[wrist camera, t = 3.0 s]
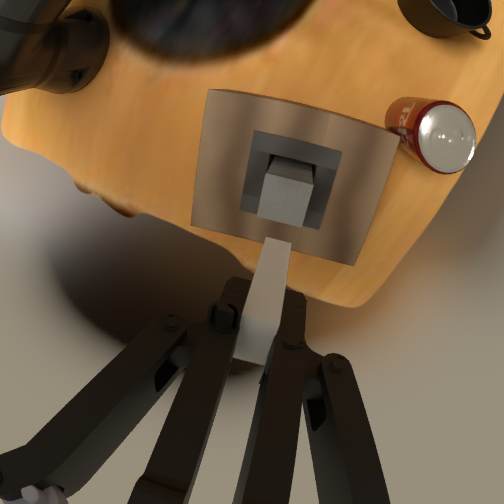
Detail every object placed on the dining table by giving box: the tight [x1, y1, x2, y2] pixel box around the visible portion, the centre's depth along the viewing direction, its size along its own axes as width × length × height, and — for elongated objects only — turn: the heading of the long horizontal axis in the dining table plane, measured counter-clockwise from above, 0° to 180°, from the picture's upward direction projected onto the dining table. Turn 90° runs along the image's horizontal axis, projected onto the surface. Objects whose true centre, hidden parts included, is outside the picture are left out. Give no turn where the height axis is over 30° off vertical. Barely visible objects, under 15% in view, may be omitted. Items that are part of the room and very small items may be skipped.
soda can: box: [385, 97, 476, 174], centre depth 26 cm, size 7×7×12 cm
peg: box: [257, 155, 314, 228], centre depth 29 cm, size 4×4×8 cm
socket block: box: [191, 89, 400, 266], centre depth 34 cm, size 20×16×8 cm
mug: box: [398, 0, 492, 40], centre depth 18 cm, size 9×12×9 cm
